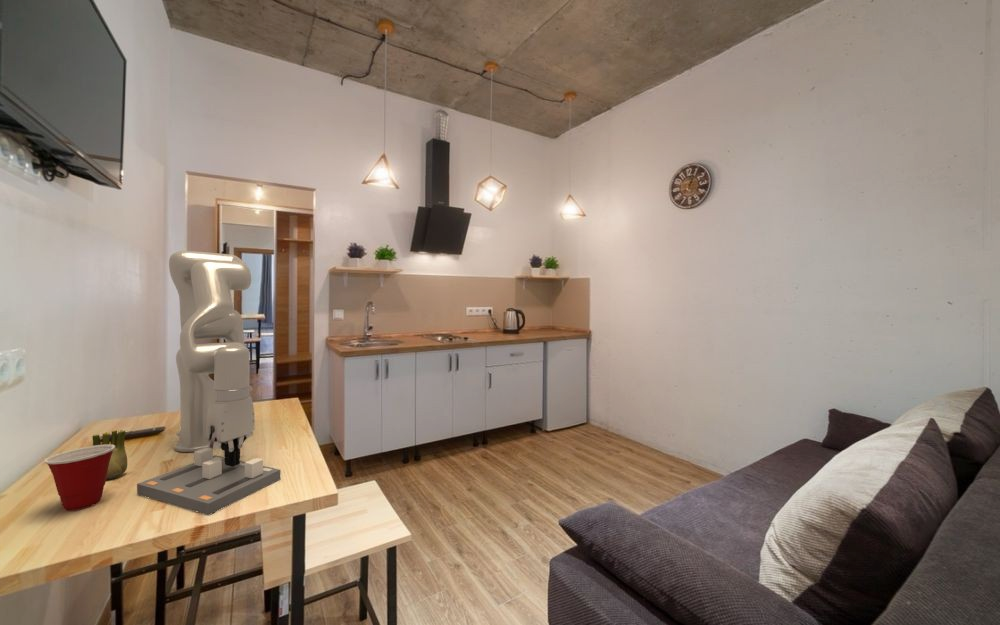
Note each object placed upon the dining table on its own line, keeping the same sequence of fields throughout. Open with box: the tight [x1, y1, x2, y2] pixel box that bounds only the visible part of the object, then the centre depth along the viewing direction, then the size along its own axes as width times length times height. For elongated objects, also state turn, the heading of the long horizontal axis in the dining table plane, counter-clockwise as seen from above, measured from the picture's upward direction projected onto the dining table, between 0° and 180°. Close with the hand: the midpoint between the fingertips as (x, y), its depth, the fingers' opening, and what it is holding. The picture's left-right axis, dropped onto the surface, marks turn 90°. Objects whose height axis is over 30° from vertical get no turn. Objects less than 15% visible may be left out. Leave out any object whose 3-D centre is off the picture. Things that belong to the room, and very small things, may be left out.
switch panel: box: [136, 454, 281, 516], centre depth 97 cm, size 24×18×3 cm
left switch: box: [193, 448, 214, 466], centre depth 103 cm, size 2×3×4 cm
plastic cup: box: [43, 444, 115, 512], centre depth 87 cm, size 11×11×12 cm
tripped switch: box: [202, 459, 222, 479], centre depth 96 cm, size 2×3×4 cm
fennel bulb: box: [92, 429, 128, 481], centre depth 100 cm, size 6×5×12 cm
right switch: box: [244, 457, 264, 478], centre depth 97 cm, size 2×3×4 cm
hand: (232, 464), depth 101 cm, fingers closed
